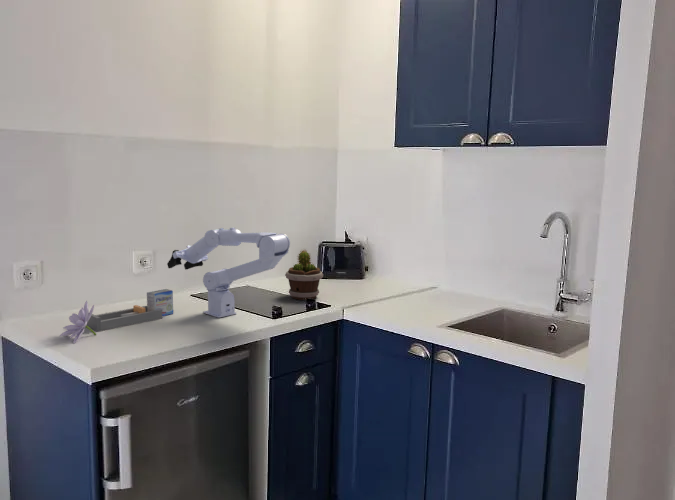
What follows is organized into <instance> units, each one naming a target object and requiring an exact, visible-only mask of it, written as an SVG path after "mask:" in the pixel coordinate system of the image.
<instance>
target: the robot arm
mask: <svg viewBox="0 0 675 500" xmlns="http://www.w3.org/2000/svg"><path fill="white" fill-rule="evenodd" d="M242 243H248V244H249V243H250V244H256V247H257V248H258V256H259V257H258V258H257V259H255V260H253V261H249V262H245V263H242V264H239V265H237V266H233V267H230V268H222V269H219V270H214V271H207V272H206V273H204V275H203V278H202V283H203V286H204V287H205V288H206V290H207V310H204V311H202V313H203V314H207V315H209V316H212V317H215V318H223V317H227V316H232V315H237V312H235V310H236V309H235V306H236V305H235V295H234V293H233V292H231V291H230V288H231V284H232V283H233V282H235V281H238V280H241V279H244V278H247V277H250V276H254V275H256V274H261V273H264V272H266V271H269V270H273V269H275V268H276V266H277V265H278V264H279V262H280V261H281V260H282V259H283V257H285V256H286V255H287V254H289V250H290V247H291V241H290V237H289V236H288V235H287V234H285V233H278V232H270V231H269V232H267V231H262V232H261V231H260V232H259V231H258V232H242V231H241V230H240V229H237V228H236V227H229V229H227V228H225V229H224V228H223V227H220V228H218V229H210V230H207V231H206V232H205V233H204V236H203V237H202V238H200V239H199V240H198V241H196V242H195V243H194V244H192V245H188V244H187V246H186V248H185V249H181V250H179V249H174V250H173V251H172V254H171V257H170V259H169V260H168V261H167V264H166V265H167V268H168V269H172V268H175V267H177V266H180V265H183V267H184V270H186V271H187V270H190V269H192V268H196V267H203V265H204V263H203V262H206V261H207V260H208V259H209V256H208V254H210V253H211V252H213V250H214V249H216V248H218V247H219V246H223V247H226V246H227V247H228V246H229V247H238V246H240V245H241V244H242ZM182 260H183V261H185V263H184V264H182Z"/></svg>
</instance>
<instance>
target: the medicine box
mask: <svg viewBox="0 0 675 500" xmlns="http://www.w3.org/2000/svg"><path fill="white" fill-rule="evenodd" d="M173 293H174V291H173V289H169V288H168V289H167V288H165V289H159V290H154V291H153V290H152V291H148V292H146V306H147V312H149V311H154V310H159V309H161V310H162V317H165V316H170V315H173V314H174V294H173Z"/></svg>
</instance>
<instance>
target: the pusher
mask: <svg viewBox="0 0 675 500" xmlns="http://www.w3.org/2000/svg"><path fill="white" fill-rule="evenodd" d="M133 311H134V312H132V313H127V314H121V317H123V316H128V315H133V314H138V313H144V312H146V311H145V308H144V307H142V306H140V305H137V304H136V305H133Z"/></svg>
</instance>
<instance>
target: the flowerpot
mask: <svg viewBox="0 0 675 500" xmlns="http://www.w3.org/2000/svg"><path fill="white" fill-rule="evenodd" d="M296 257H297V258H296V260H297V262H296V264H295V263H293V266H291V267H290V268H289V269H288V270H287V271H286V272H285V274H284V277H285V278H286V279H287V280H288V284H289V289H288V293H289V295H290V297H291V298H292V299H294V300H299V301H303V300H305V301H308V300H307V299H309V300H310V299H311V300H315V299H316V298H317V296H319V294H320V290H319V285H320V280H322V279H323V277H324V274H323V272H322V271H321V269H320V267H316V265H315V263H313V262H312V259H311V257H312V256H311V253H309V252H308V250H307V249H300V251H299V253H298V254H297V256H296Z"/></svg>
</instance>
